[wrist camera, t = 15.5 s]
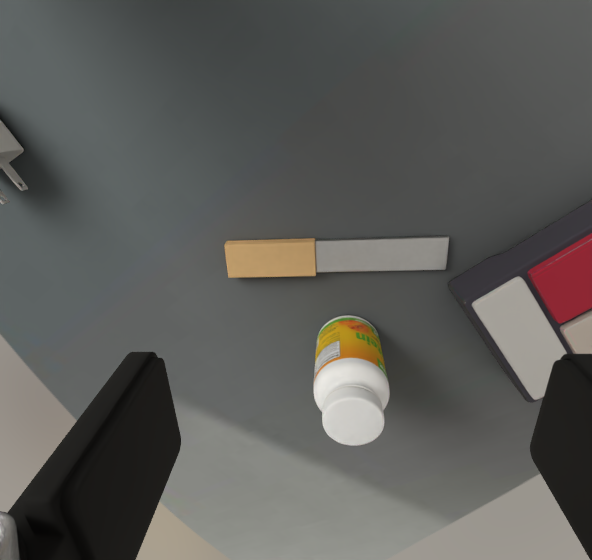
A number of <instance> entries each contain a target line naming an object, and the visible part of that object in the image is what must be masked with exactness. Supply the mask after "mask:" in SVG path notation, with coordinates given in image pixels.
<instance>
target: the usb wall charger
mask: <svg viewBox="0 0 592 560" xmlns="http://www.w3.org/2000/svg"><path fill="white" fill-rule="evenodd" d="M23 151H24V149H23V148H22V146H21V145H20V144H19V143H18V141H17V140H16V139H15V138H14V136H13V135H12V134H11V132H10V131H9V130H8V129H7V127H6V126H5V125H4V124H3V122H2V121H1V120H0V169H1V168H2V169H3V170H4V172H5V173H6V174H7V175H8V176H9V178H10V179H11V180H12V181H13V182H14V184H15V185H16V186H17V187H18V188H19V189H20V190H21V191H23V190H27V189H28V187H27V186H26V185H25V183H24V182H23V180H22V179H21V178H20V176H19V175H18V174H17V173H16V172H15V170H14V169H13V168H12V167H11V165H10V164H9V162H10V161H12V160H13V159H14V158H16V157H17V156H18V155H20V154H21V153H22V152H23ZM18 182H19V183H21V184H22V185H23V187H21V186H20V185H19V184H18ZM0 196H2V197H3V198H4V199H5V201H3V200H1V199H0V202H1V203H2V204H6V203H9V200H8V199H7V197H6V196H5V195H4V193H3V192H2V191H1V190H0Z"/></svg>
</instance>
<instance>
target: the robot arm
mask: <svg viewBox="0 0 592 560" xmlns="http://www.w3.org/2000/svg"><path fill="white" fill-rule="evenodd" d="M180 446H181V436H180V432H179V427H178V422H177V418H176V413H175V409H174V404H173V400H172V395H171V391H170V386H169V382H168V377H167V372H166V368H165V363H164V360H163V359H162V358H158V357H157V355H156V354H155V353H154V352H131V353H129V354H128V355H127V356H126V357H125V359H124V360H123V361H122V363H121V364H120V365H119V367H118V368H117V369H116V371H115V372H114V373H113V375H112V376H111V377H110V378H109V380H108V381H107V382H106V384H105V385H104V386H103V388H102V389H101V390H100V392H99V393H98V394H97V396H96V397H95V398H94V400H93V401H92V402H91V404H90V405H89V406H88V407H87V409H86V410H85V411H84V413H83V414H82V415H81V417H80V418H79V419H78V421H77V422H76V423H75V425H74V426H73V427H72V429H71V430H70V432H68V434H67V435H66V437H65V438H64V439H63V440H62V442H61V443H60V444H59V446H58V447H57V448H56V450H55V451H54V452H53V454H52V455H51V456H50V457H49V459H48V460H47V461H46V463H45V464H44V465H43V467H42V468H41V469H40V471H39V472H38V474H37V475H36V476H35V477H34V479H33V480H32V481H31V483H30V484H29V485H28V487H27V488H26V489H25V490H24V492H23V493H22V495H21V496H20V497H19V498H18V500H17V501H16V502H15V504H14V505H13V506H12V508H11V509H10V510H9V512H8V513H6V512H0V560H135V559H136V557H137V554H138V552H139V549H140V547H141V545H142V542H143V540H144V537H145V535H146V532H147V530H148V527H149V525H150V523H151V520H152V518H153V515H154V513H155V510H156V508H157V505H158V503H159V500H160V498H161V495H162V493H163V491H164V488H165V486H166V483H167V481H168V478H169V476H170V473H171V471H172V468H173V466H174V463H175V461H176V458H177V456H178V454H179V451H180ZM530 451H531V456H532V459H533V461H534V463H535V464H536V466H537V468H538V470H539V471H540V473H541V475H542V476H543V478H544V480H545V482H546V484H547V485H548V487H549V489H550V490H551V492H552V494H553V496H554V497H555V499H556V501H557V503H558V504H559V506H560V508H561V510H562V511H563V513H564V515H565V516H566V518H567V520H568V522H569V523H570V525H571V527H572V529H573V530H574V532H575V534H576V535H577V537H578V539H579V541H580V542H581V544H582V546H583V548H584V549H585V551H586V552H587V555H588V556H589V558H590V560H592V354H564V355H563V356H562V357H561V359H560V360H556V361H555V362H554V364H553V366H552V370H551V373H550V377H549V380H548V384H547V387H546V391H545V394H544V398H543V401H542V405H541V408H540V412H539V415H538V419H537V422H536V426H535V429H534V433H533V436H532V440H531V444H530Z"/></svg>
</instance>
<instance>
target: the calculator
mask: <svg viewBox="0 0 592 560" xmlns="http://www.w3.org/2000/svg"><path fill="white" fill-rule="evenodd" d="M448 287H449V289H450V291H451V292H452V294H453V295H454V297H455V298H456V300H457V301H458V303H459V304H460V306H461V307H462V309H463V310H464V312H465V313H466V315H467V316H468V318H469V319H470V321H471V322H472V324H473V325H474V327H475V328H476V330H477V331H478V333H479V334H480V336H481V337H482V339H483V340H484V342H485V343H486V345H487V346H488V348H489V349H490V351H491V352H492V354H493V355H494V357H495V358H496V360H497V362H498V363H499V365H500V366H501V368H502V369H503V371H504V372H505V374H506V375H507V376H508V378H509V379H510V380H511V382H512V383H513V384H514V386H515V387H516V388H517V389H518V391H519V392H520V393H521V395H522V396H523V397H524V399H525V400H526V401H527V402H535V401H537V400H539V399H541V398H543V397H544V394H545V391H546V387H547V384H548V380H549V377H550V373H551V370H552V366H553V364H554V362H555V361H556V360H560V359H561V357H562V356H563V355H564V354H592V200H591V201H589V202H588V203H586V204H584V205H583V206H581V207H579V208H578V209H576V210H575V211H573V212H571V213H570V214H568V215H566V216H565V217H563V218H561V219H560V220H558V221H556V222H555V223H553V224H551V225H550V226H548V227H546V228H545V229H543V230H541V231H540V232H538V233H537V234H535V235H533V236H532V237H530V238H528V239H527V240H525V241H523V242H522V243H520V244H518V245H517V246H515V247H513V248H512V249H510V250H508V251H507V252H505V253H502V254H499V255H496V256H492V257H489V258H488V259H486V260H484V261H483V262H481V263H479V264H478V265H476V266H474V267H473V268H471V269H470V270H468V271H466V272H465V273H463V274H461V275H460V276H458V277H456V278H455V279H453V280H452V281H450V282H449V284H448Z"/></svg>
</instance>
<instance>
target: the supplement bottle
mask: <svg viewBox="0 0 592 560" xmlns="http://www.w3.org/2000/svg"><path fill="white" fill-rule="evenodd" d="M389 394H390V392H389V384H388V379H387V374H386V369H385V364H384V359H383V354H382V349H381V344H380V339H379V336H378V333H377V331H376V329H375V328H374V327H373V326H372V325H371V324H370V323H369V322H368V321H366V320H365V319H363V318H360V317H357V316H350V315H346V316H339V317H336V318H334V319H332V320H330V321H329V322H327V323H326V324H325V325H324V326H323V327H322V329H321V330H320V332H319V334H318V337H317V343H316V358H315V374H314V398H315V401H316V404H317V406H318V407H319V409H320V410H321V411H322V421H323V427H324V429H325V431H326V433H327V434H328V435H329V436H330V437H331V438H332V439H334V440H335V441H337V442H339V443H342V444H345V445H352V446H356V445H363V444H366V443H369V442H371V441H373V440H374V439H376V438H377V437H378V436H379V435H380V434H381V432H382V430H383V427H384V412H383V410H384V409H385V407H386V405H387V403H388V400H389Z"/></svg>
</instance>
